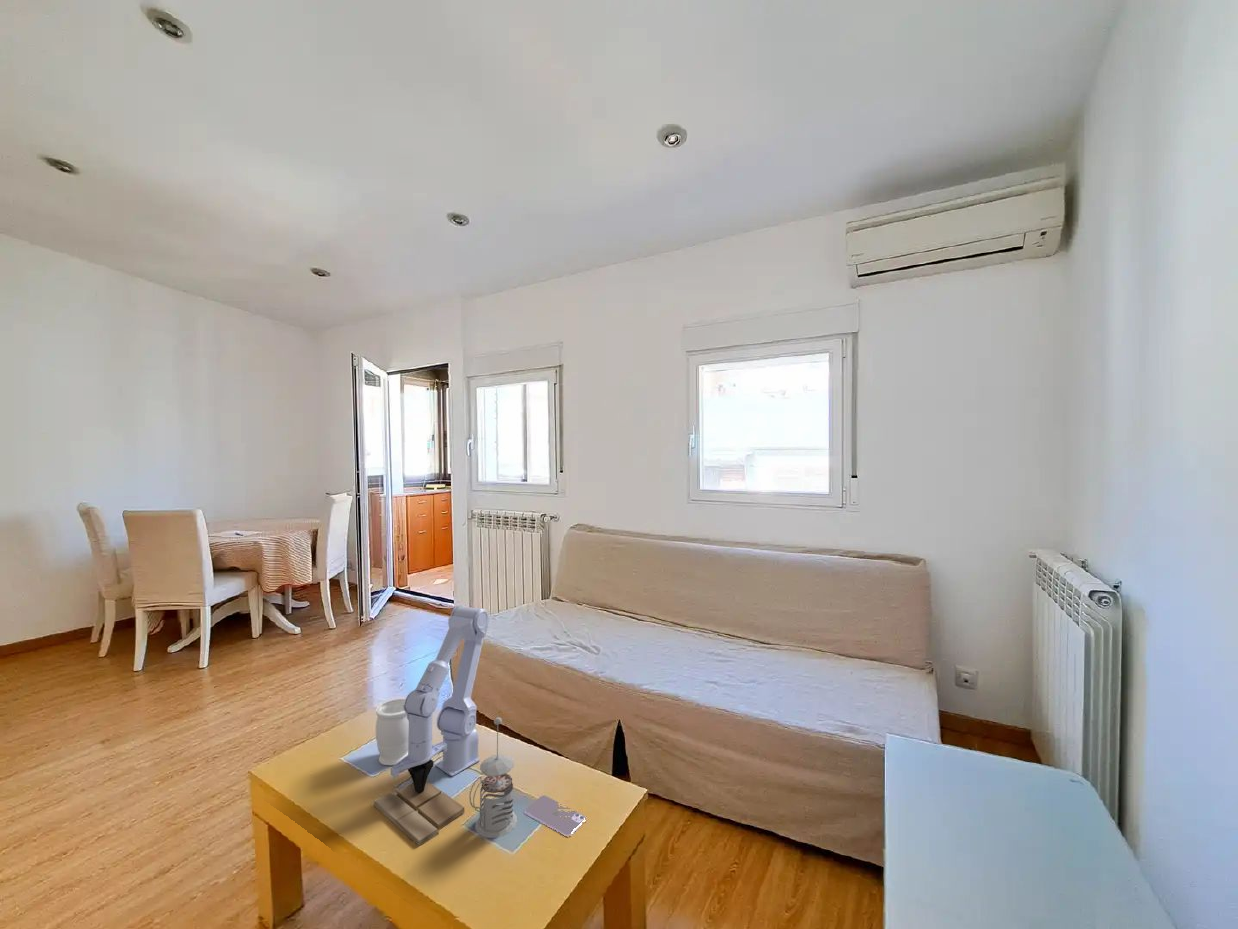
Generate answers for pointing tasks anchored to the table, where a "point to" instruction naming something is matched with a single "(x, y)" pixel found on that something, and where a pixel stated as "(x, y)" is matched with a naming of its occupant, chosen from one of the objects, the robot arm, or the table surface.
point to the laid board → (406, 818)
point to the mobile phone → (554, 815)
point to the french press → (495, 816)
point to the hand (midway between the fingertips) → (419, 790)
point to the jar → (392, 731)
